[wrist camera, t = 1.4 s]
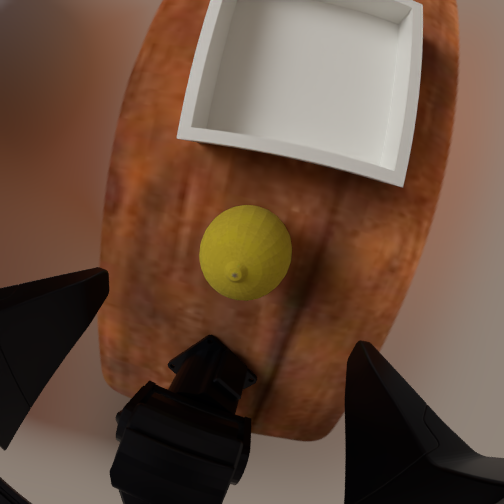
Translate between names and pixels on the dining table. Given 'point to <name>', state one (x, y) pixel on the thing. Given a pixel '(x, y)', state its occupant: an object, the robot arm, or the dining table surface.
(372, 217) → the dining table surface
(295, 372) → the dining table surface
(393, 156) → the box
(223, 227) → the lemon
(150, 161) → the dining table surface
